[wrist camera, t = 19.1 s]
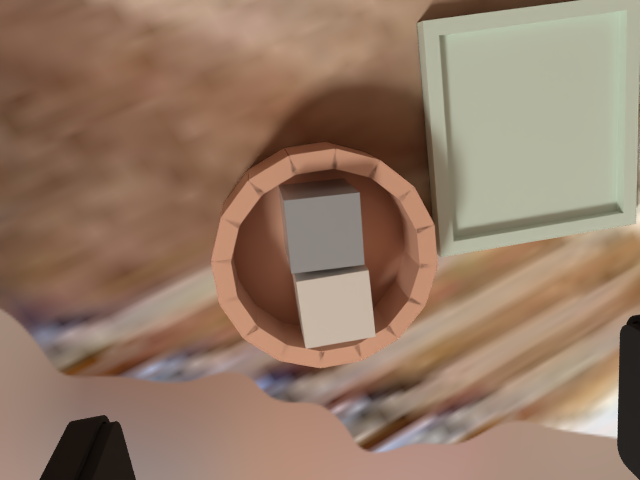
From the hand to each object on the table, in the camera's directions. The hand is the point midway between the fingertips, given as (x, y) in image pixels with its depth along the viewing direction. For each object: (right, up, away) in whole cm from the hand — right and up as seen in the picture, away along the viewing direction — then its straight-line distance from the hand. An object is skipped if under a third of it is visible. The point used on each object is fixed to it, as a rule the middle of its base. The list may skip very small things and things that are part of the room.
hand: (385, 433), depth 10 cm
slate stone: (-2, +5, +28) cm, 29 cm away
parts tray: (+14, +11, +30) cm, 35 cm away
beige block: (-1, +1, +30) cm, 30 cm away
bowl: (-1, +3, +30) cm, 30 cm away
